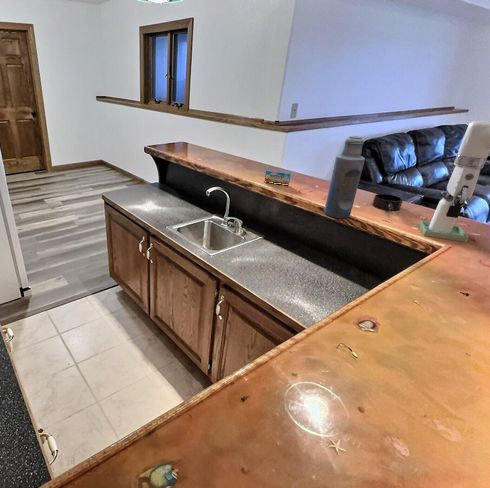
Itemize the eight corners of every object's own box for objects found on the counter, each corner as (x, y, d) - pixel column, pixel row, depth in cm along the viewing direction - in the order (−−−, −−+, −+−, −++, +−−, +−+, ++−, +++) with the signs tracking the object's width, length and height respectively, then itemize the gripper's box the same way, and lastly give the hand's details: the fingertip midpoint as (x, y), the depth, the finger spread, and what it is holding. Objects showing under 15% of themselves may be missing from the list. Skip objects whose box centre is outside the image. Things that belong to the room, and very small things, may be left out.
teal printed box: (264, 182, 177) (265, 170, 175) (265, 182, 179) (266, 170, 176) (288, 186, 172) (290, 174, 169) (289, 185, 173) (291, 173, 171)
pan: (397, 204, 150) (400, 195, 148) (404, 219, 135) (407, 209, 133) (371, 201, 154) (374, 192, 152) (375, 215, 138) (377, 205, 137)
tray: (458, 231, 125) (460, 226, 124) (466, 242, 117) (468, 237, 116) (418, 225, 130) (419, 220, 129) (423, 235, 121) (425, 230, 121)
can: (427, 225, 128) (440, 194, 122) (449, 230, 125) (463, 198, 119) (428, 232, 123) (442, 200, 117) (450, 237, 120) (465, 204, 114)
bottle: (330, 218, 134) (349, 138, 121) (319, 209, 143) (336, 134, 130) (354, 218, 135) (376, 139, 121) (342, 209, 144) (361, 134, 130)
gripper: (494, 168, 104) (469, 224, 112) (475, 157, 118) (455, 206, 126) (463, 166, 106) (441, 220, 114) (448, 155, 120) (430, 203, 128)
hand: (448, 212), depth 120 cm, fingers open, 6 cm apart
